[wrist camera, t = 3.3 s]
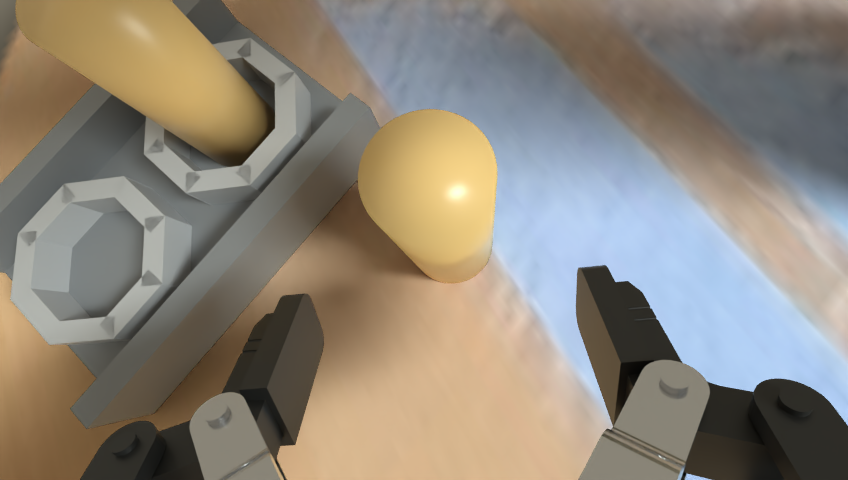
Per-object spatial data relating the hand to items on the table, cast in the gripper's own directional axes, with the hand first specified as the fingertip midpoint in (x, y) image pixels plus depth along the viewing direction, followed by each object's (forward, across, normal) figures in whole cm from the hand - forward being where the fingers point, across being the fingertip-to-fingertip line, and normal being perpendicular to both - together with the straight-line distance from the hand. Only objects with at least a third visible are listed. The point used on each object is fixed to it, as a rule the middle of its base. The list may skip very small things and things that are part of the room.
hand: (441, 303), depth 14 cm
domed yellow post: (+8, 0, +4) cm, 9 cm away
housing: (+11, +13, +1) cm, 17 cm away
